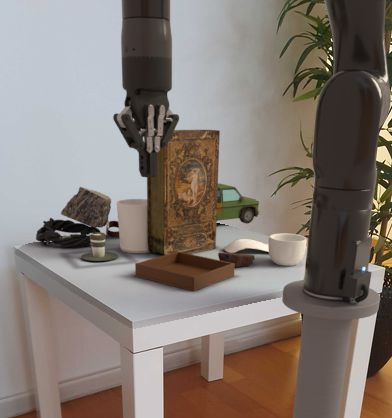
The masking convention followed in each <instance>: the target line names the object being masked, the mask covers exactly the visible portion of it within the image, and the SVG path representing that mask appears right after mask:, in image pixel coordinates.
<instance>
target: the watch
mask: <svg viewBox="0 0 392 418" xmlns="http://www.w3.org/2000/svg"><path fill="white" fill-rule="evenodd" d="M105 227H106V228H105V235H106V236H108V237H109V238H112V239H113V238H114V239H115V238H116V239H117V238H120V237H119V230H118V231H112V230H110V228H117V229H119V225H118V220H110V221H109V220H108V222H107V224H106V225H105Z"/></svg>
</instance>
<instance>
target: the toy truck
mask: <svg viewBox="0 0 392 418" xmlns="http://www.w3.org/2000/svg"><path fill="white" fill-rule="evenodd" d="M259 204H260V201H259V200H257V199H256V198H251V197H247V196H243V195H242V194H241V192H239V190H238V189H237V188H236V186H232V185H228V184H223V183H218V194H217V222H218V221H228V220H235V219H236V220H237V219H239V221H240V222H241V223H243V224H250V223H252V222H253V220H254V218H257V217H258V216H259V215H260V210H259Z"/></svg>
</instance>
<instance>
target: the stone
mask: <svg viewBox="0 0 392 418" xmlns="http://www.w3.org/2000/svg"><path fill="white" fill-rule="evenodd" d="M217 256H218V260H220V261H225V262H230V263H234V264H235V268H240V267H241V268H242V267H249V266H251V265H253V263H254V261H255V259H256V257H255V255H254V254H245V253H229V252H218V254H217Z"/></svg>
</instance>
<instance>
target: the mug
mask: <svg viewBox="0 0 392 418" xmlns="http://www.w3.org/2000/svg"><path fill="white" fill-rule="evenodd" d="M116 211H117V221H118V225H119V228H118V231H119V237H118V238H119V245H120V246H119V248H120V251H122V252H124V253H128V254H148V253H150V252H149V250H148V223H147V198H127V199H120V200H117V201H116Z"/></svg>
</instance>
